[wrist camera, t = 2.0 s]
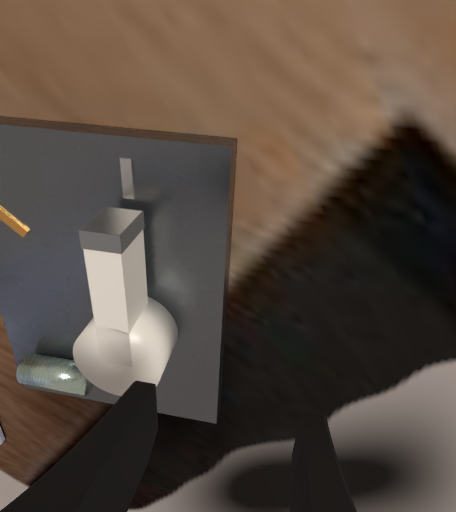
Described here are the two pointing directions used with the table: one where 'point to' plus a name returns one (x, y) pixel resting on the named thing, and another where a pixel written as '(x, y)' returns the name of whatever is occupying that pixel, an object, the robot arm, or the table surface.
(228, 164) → the base plate
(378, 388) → the table surface
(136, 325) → the white long bulbous piece
